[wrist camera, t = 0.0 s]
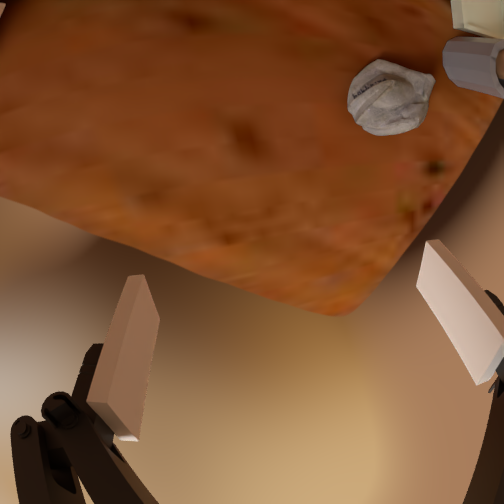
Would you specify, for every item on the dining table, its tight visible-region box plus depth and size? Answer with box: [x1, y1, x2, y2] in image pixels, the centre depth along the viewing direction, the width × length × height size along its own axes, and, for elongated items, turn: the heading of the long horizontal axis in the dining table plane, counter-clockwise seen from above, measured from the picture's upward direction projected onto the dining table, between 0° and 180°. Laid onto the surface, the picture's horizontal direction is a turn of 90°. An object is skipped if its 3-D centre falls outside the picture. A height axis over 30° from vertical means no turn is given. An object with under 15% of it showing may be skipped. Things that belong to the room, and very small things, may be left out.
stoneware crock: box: [443, 37, 504, 99], centre depth 28 cm, size 8×8×10 cm
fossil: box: [348, 59, 436, 136], centre depth 32 cm, size 11×9×8 cm
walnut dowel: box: [495, 49, 504, 79], centre depth 25 cm, size 5×4×14 cm
